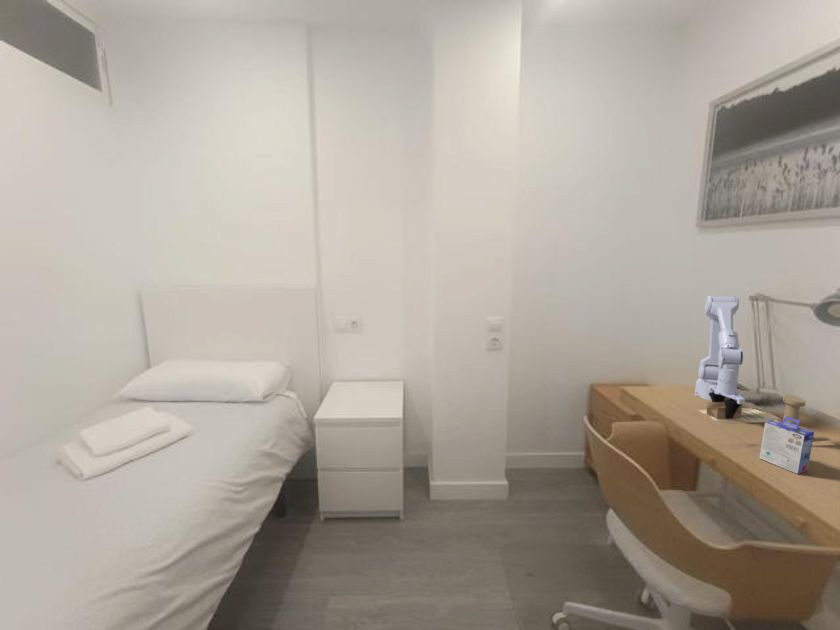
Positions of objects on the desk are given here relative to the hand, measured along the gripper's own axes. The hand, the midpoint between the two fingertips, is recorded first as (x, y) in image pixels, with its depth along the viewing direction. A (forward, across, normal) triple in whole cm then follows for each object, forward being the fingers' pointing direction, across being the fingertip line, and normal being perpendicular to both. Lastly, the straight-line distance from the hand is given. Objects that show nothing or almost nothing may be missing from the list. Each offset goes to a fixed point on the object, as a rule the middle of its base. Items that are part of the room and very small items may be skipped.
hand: (723, 414), depth 149 cm
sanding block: (0, 0, 0) cm, 0 cm away
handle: (+2, +17, +8) cm, 19 cm away
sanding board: (+2, 0, +6) cm, 7 cm away
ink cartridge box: (+2, +30, -6) cm, 31 cm away
